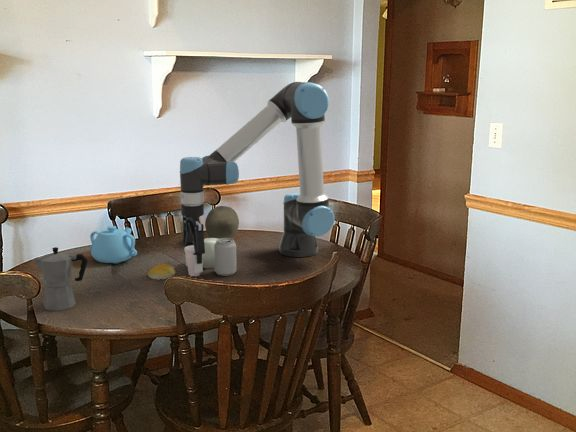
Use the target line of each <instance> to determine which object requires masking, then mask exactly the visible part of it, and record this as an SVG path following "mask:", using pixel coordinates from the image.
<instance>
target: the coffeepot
mask: <svg viewBox="0 0 576 432" xmlns="http://www.w3.org/2000/svg"><path fill="white" fill-rule="evenodd" d="M88 260H89V259H88V258H87V257H86V256H85V255H84V254H83V253H79V254H78V253H77V254H76V253H75V254H74V253H73V254H71V253H69V252H68V253H66V252H59V247H52V253H47V254H44V255H42V256H39V257H38V256H37V257H35V258H33V259H32V262H34V263H35V264H36V265H37V267H38V268H39V270H40V271H41V272H42V276H43V279H44V281H45V287H44V295H43V308H44V309H45V310H47V311H51V312H60V311H66V310H68V309H71V308H73V307H74V306H75V305H77V303H76V298H75V295H74V294H75V293H74V290H73V286H72V284H71V281H70V280H71V278H72V269H73V262H77V261H81V264H80V270H79V272H78V277H74V281H75V282H81V281H83V279H84V275H85V273H86V269H87V266H88V262H89V261H88Z"/></svg>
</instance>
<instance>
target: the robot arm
mask: <svg viewBox="0 0 576 432" xmlns="http://www.w3.org/2000/svg"><path fill="white" fill-rule="evenodd" d="M329 104H330V98H329V95H328V93H327V91H326V89H325V88H324V87H323V86H321V85H320V84H317V83H316V82H315V83H314V82H308V81H307V82H306V81H293V82H291V83H289V84H287V85H285V86H284V87H282V89H280V90H279V91H278V92H277V93H276V94H275V95H274V96H273V97H271V98H270V99H269V100H268V101H267V105H266V106H265V107H264V108H263V109H262V110H261V111H259V112H258V113H257V114H256V115H255V116H254V117H252V118H251V119H250V120H249V121H248V122H247V123H246V124H244V125H243V126H242V127H241V128H240V129H238V130H237V131H235V133H234V134H232V136H230V137H229V138H227V140H226V141H224V143H222V144H221V145H220V146H219V147H218V148H216V150H214V151H212V152H211V153H210V154H209V155H204V156H203V157H200V156H199V157H198V156H186V157H183V158H181V159H180V161H179V162H180V163H179V177H180V179H179V181H180V194H179V198H180V203H181V205H180V211H181V213H180V215H181V216H182V225H183V226H182V244H183V245H184V248H185V247H187V246H192V245H194V249H195V253H193V255H194V273H199V272H200V273H203V272H204V269H203V259H202V254H204V253H205V245H204V239H205V236H204V229H205V224H203V223H201V221H200V217H202V216H204V215H205V209H204V208H205V207H204V204H203V203H204V202H205V198H204V197H205V196H204V195H205V194H204V193H205V192H204V187H206V186H221V185H222V186H223V185H226V186H228V185H233V184H234V185H235V184H237V183H238V181H239V178H240V170H239V165H238V163H236V161H237V160H238V159H239V158H241V157H242V156H243V155H244V154H246V153H247V151H249V150H250V149H251V148H253V146H254V145H256V144H257V143H259V141H260V140H262V139H263V138H264V137H265V136H266V135H267V134H268V133H270V132H271V131H272V130H273V129H275V128H276V127H277V126H278V125H279V124H280V123H285V122H287V121H288V120H289V119H290V120H291V124H292V125H293V126H294V127H295V130H296V131H295V132H296V145H297V146H296V147H297V161H298V162H297V163H298V165H297V166H298V177H299V179H298V181H299V192H294V193H293V192H291V193H287V194H285V195H284V196H283V203H282V204H283V233H282V236H281V239H280V242H279V245H278V251H279V253H280V254H281V255H284V256H287V257H293V258H306V257H312V256H315V255H317V254H318V253H319V245H318V242H317V238H318V237H323V236H325V235H326V234H328V233H329V232H330V230H331V229H333V226H334V224H335V214H334V212H333V211H332V209H331V208H330V200H329V199H330V198H329V195H327V194H326V193H325V188H324V187H325V186H324V185H325V184H324V167H323V166H324V165H323V146H322V130H321V127H322V125H323V124H324V123H326V122H325V120H326V118H325V117H326V116H325V114H326V112H327V111H328V109H329V106H330V105H329ZM316 237H317V238H316ZM184 253H185V252H184ZM185 255H186V253H185ZM185 266H186V267H188V266H187V259H186V258H185Z"/></svg>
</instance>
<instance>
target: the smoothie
mask: <svg viewBox="0 0 576 432" xmlns="http://www.w3.org/2000/svg"><path fill="white" fill-rule="evenodd" d="M183 250H184V253H186V254H185V260H186V259H187V266H186V267H187V271H188V276H189V275H190V276H189V277H192V276H195V277H198V276H200V275H201V272H199V273H194V255H193V253H195V249H194V245H192V246H187V247H185V246H184V249H183Z"/></svg>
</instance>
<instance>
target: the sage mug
mask: <svg viewBox="0 0 576 432" xmlns="http://www.w3.org/2000/svg"><path fill="white" fill-rule="evenodd" d="M217 239H218V238H210V237H206V238H205V237H204V245H205V253H204V254H202V259H203V267H204V269H215V257H214V244H215V243H216V240H217Z"/></svg>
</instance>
